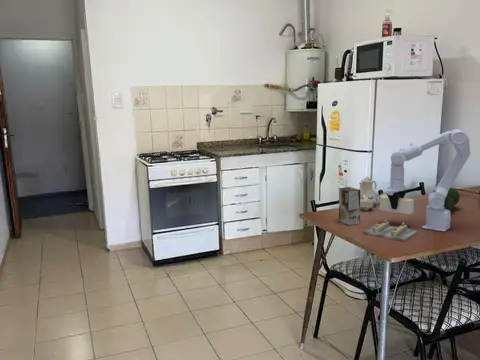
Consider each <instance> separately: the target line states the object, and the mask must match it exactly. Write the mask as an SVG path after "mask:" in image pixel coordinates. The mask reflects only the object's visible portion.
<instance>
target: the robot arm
mask: <svg viewBox="0 0 480 360" xmlns="http://www.w3.org/2000/svg"><path fill="white" fill-rule="evenodd" d="M450 143H451V144H452V145H453V147H454V149H455V152H456V153H455V155H454V157H453V158H452V161H451V162H450V164H449V165H448V167H447V169H446V170H445V171H444V174H443V175H442V177H441V179H440V181H439V182H438V184H437V185H436V187H434V189H433V190H432V191H430V192H429V194H428V195H427V202H428V205H426V207H425V208H426V210H425V213H426V214H425V224H424V225H423V226H421V227H422V228H423V229H428V230H432V231H440V232H446V231H448V230H449V229H450V228H451V215H452V214H451V213H450V210H446V209H445V207H444V201H445V198H446V196H447V193H448V191H449V189H450V188H452V185H453V184H454V182H455V181H456V179H457V177H458V176H459V173H460V172H461V171H462V169H463V168H464V165H465V164H466V162H467V161H468V159H469V158H470V155H471V146H470V138H469V136H468V134H467V132H466V131H464V130H462V129H461V128H454V129H452V130H447V131H445V132H443V133H442V132H441V134H437V135H435V136H434V137H432V138H430V139H428V140H426V141H424V142H422V143H418V142H417V143H416V142H415V143H413V142H411V143H409V145H408V146H406V147H403V148H399V149H398V150H397V151H394V152H393V153H391V155H390V161H391V163H390V179H389V181H390V182H389V186H388V187H387V189H388V190H387V193H386V194H387V196H388V198H389V200H390V204H391V208H392V209H397V206H398V200H399V198H405V196H406V194H407V191H406V188H407V187H406V185H405V162H406V161H407V162H408V161H410V160H413V159H416V158H418V157H419V156H422V155H423V152H424V151H426V150H428V149H431V148H433V147H436V146H438V145H441V144H447V145H448V144H450Z"/></svg>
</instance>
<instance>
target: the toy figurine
mask: <svg viewBox="0 0 480 360" xmlns="http://www.w3.org/2000/svg"><path fill="white" fill-rule="evenodd" d="M460 199H461V195H460V192H458V190H457V189H455V188H453V187H450V189H449V191H448V193H447V196H446V198H445V201H444V207H445V209H446V210H450V213H451V215H452V214H453V213H454V211H455V210H456V207H455V205H457V204H458V203H459V202H460Z"/></svg>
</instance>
